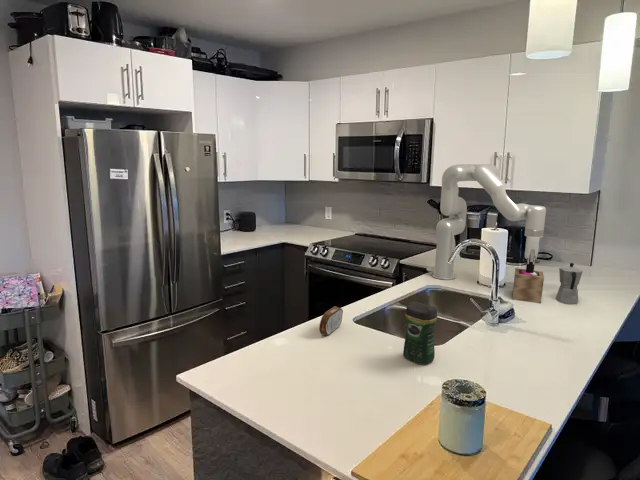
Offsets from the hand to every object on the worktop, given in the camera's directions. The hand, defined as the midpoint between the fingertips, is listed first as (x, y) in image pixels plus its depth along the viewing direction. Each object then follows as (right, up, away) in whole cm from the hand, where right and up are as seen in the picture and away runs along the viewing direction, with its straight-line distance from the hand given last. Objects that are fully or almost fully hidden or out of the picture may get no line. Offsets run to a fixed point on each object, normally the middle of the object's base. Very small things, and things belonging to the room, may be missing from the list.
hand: (529, 272), depth 202 cm
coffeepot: (+16, -13, -2) cm, 21 cm away
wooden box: (0, -12, +3) cm, 12 cm away
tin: (-92, -19, -39) cm, 102 cm away
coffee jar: (-64, -24, -59) cm, 91 cm away
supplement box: (0, -11, +3) cm, 12 cm away
